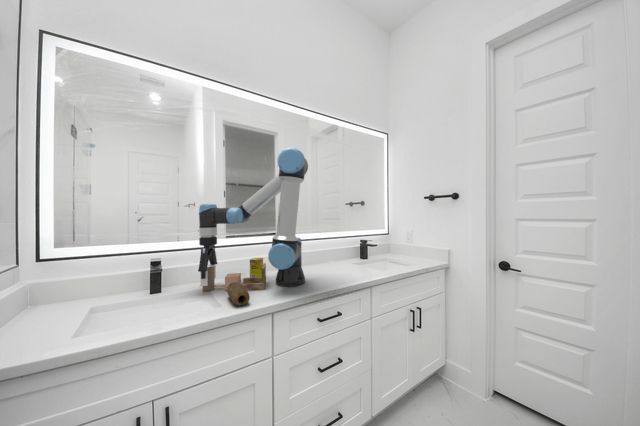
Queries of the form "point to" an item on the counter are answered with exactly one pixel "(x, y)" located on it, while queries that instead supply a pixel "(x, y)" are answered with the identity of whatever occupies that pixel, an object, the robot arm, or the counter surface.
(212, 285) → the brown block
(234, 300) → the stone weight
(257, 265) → the supplement box
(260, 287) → the wooden stand
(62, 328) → the counter surface
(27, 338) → the counter surface
